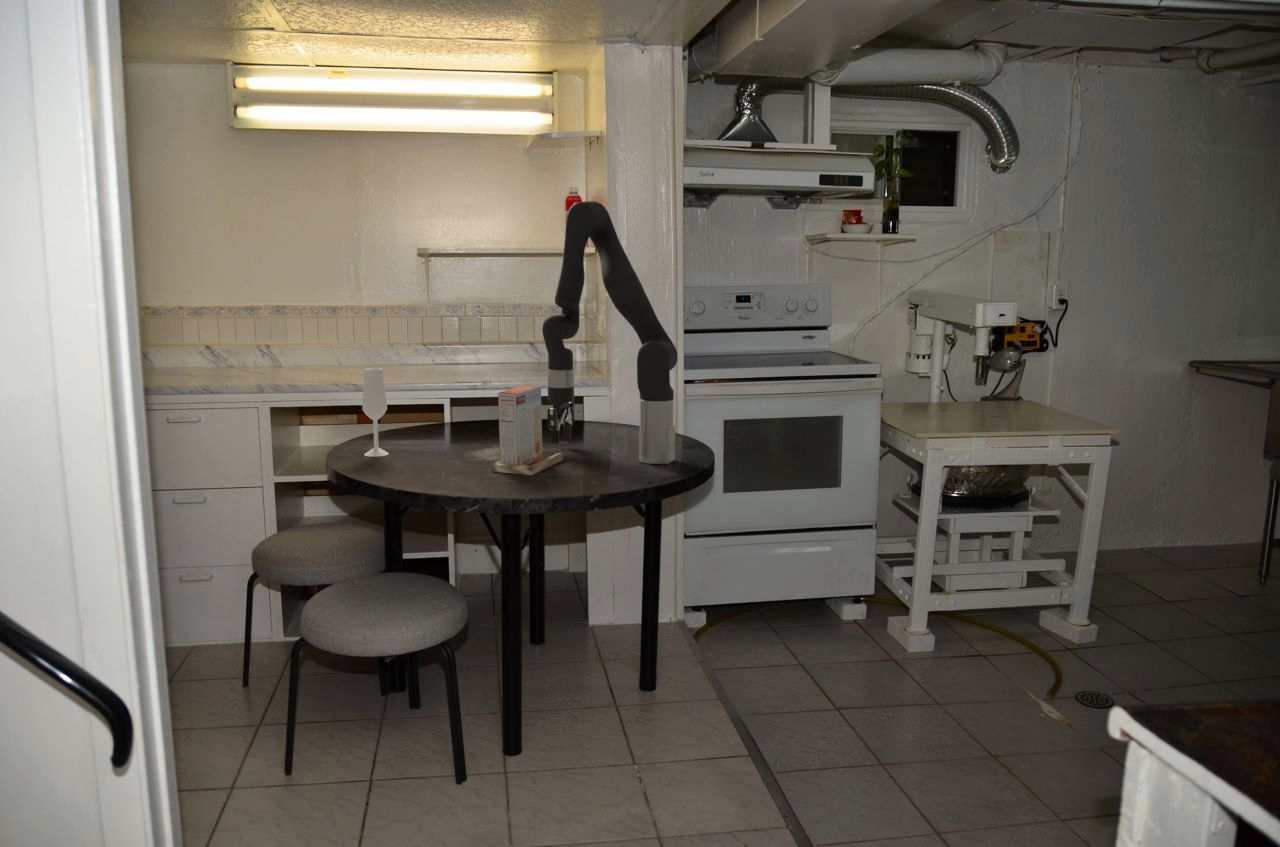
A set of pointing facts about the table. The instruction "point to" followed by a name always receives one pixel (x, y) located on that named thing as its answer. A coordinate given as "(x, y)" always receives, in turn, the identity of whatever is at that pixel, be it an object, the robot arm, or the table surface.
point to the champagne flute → (374, 404)
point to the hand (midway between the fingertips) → (561, 440)
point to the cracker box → (520, 425)
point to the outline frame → (527, 469)
